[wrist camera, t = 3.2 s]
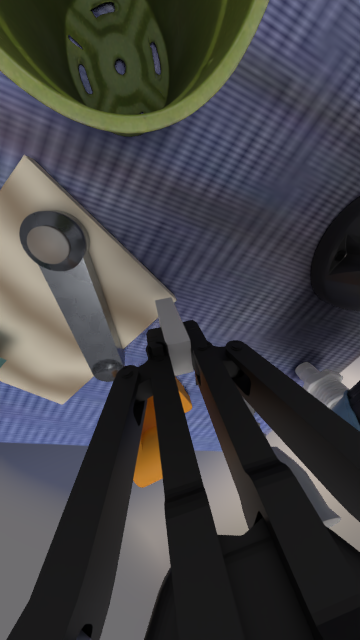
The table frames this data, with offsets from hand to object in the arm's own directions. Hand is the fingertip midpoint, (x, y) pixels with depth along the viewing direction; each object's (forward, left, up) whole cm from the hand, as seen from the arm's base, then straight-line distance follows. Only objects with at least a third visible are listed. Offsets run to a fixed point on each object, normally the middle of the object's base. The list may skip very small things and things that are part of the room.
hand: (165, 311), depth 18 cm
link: (+6, -4, -4) cm, 9 cm away
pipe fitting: (-8, +31, -6) cm, 33 cm away
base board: (+10, -6, -6) cm, 14 cm away
